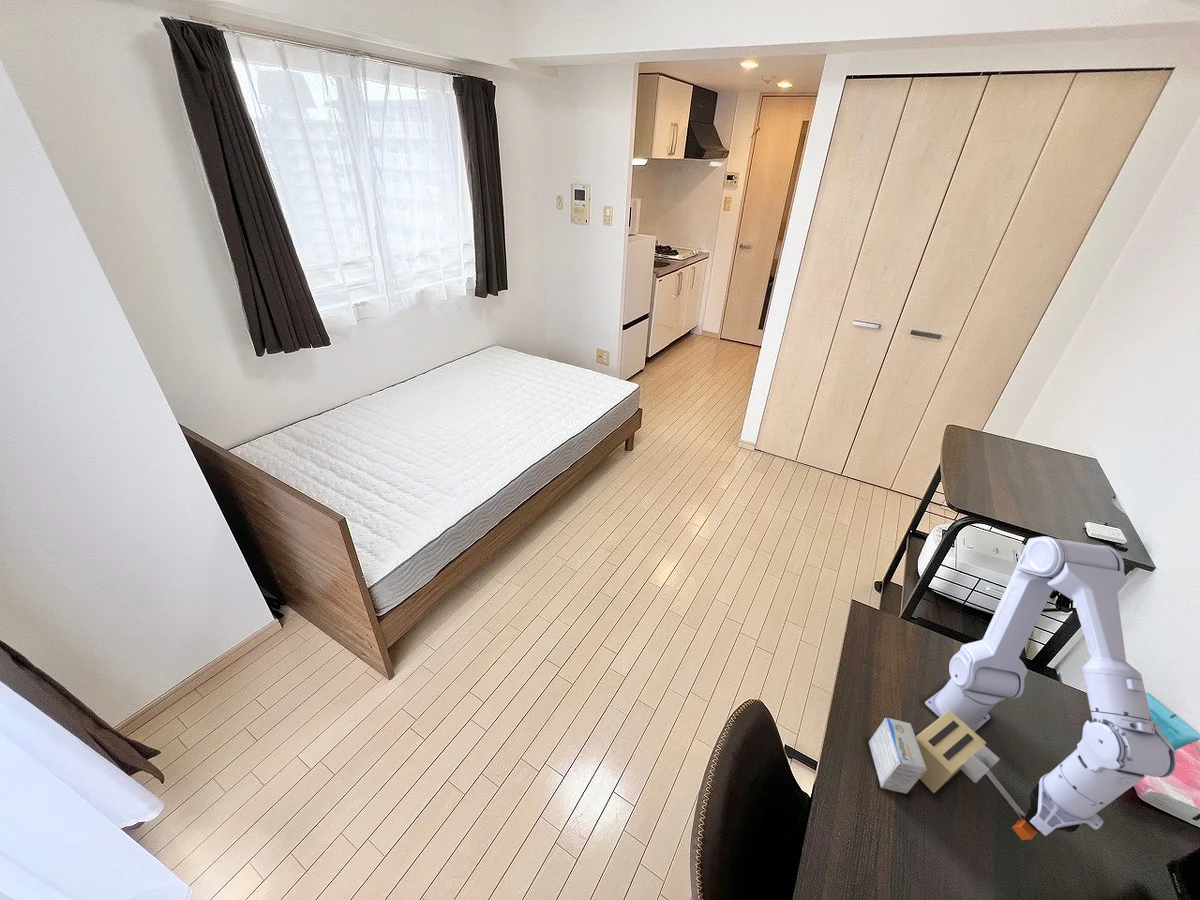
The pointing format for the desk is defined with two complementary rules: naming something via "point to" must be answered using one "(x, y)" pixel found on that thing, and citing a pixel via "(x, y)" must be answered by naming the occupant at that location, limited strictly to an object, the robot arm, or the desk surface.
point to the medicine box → (896, 756)
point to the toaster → (952, 752)
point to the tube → (1171, 724)
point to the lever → (1011, 807)
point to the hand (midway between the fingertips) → (1033, 824)
